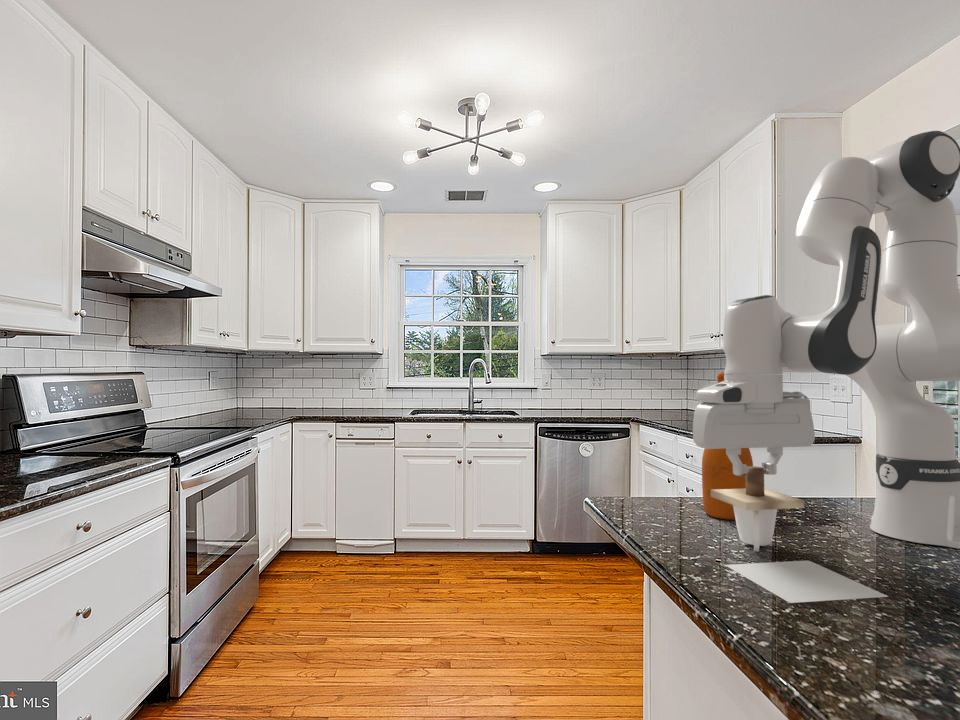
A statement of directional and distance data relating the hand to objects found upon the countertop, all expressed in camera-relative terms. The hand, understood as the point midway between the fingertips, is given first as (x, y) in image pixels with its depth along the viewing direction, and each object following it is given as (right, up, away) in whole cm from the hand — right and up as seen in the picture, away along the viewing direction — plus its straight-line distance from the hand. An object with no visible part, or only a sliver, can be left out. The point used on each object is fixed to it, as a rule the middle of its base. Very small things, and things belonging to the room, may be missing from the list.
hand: (754, 474), depth 91 cm
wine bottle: (+6, -14, +23) cm, 27 cm away
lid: (0, -5, 0) cm, 4 cm away
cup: (0, -13, 0) cm, 13 cm away
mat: (-1, -12, -15) cm, 19 cm away
